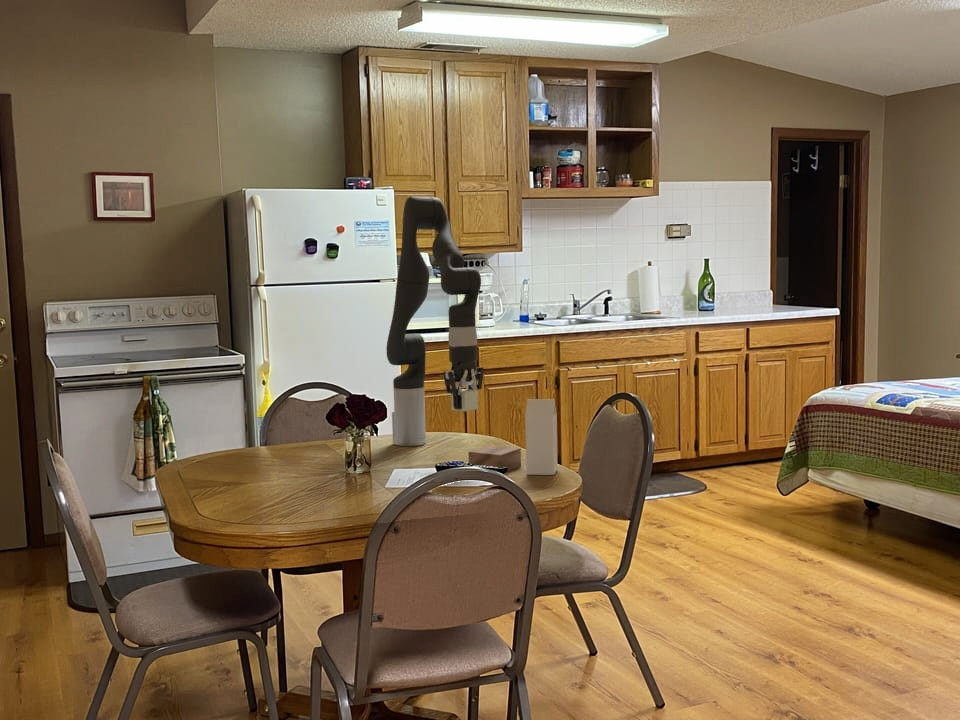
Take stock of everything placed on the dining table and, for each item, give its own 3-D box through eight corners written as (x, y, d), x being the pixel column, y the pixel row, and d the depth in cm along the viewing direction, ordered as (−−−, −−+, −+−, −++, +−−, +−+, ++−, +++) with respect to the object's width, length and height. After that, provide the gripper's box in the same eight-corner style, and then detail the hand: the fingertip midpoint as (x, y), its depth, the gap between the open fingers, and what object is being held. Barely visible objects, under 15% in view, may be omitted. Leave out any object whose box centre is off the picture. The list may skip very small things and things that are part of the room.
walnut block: (468, 470, 264) (468, 451, 264) (489, 463, 273) (489, 445, 272) (501, 474, 259) (500, 455, 258) (521, 466, 267) (520, 448, 267)
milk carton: (554, 475, 254) (552, 401, 252) (526, 475, 256) (524, 401, 254) (557, 469, 261) (556, 397, 259) (530, 469, 263) (529, 397, 261)
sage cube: (451, 410, 266) (451, 391, 265) (464, 407, 269) (463, 389, 269) (465, 411, 262) (465, 392, 262) (478, 408, 266) (477, 390, 266)
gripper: (470, 341, 272) (472, 403, 274) (433, 345, 261) (436, 410, 263) (491, 342, 267) (493, 405, 269) (455, 346, 256) (457, 412, 258)
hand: (465, 407), depth 266 cm, fingers closed on sage cube, 5 cm apart
